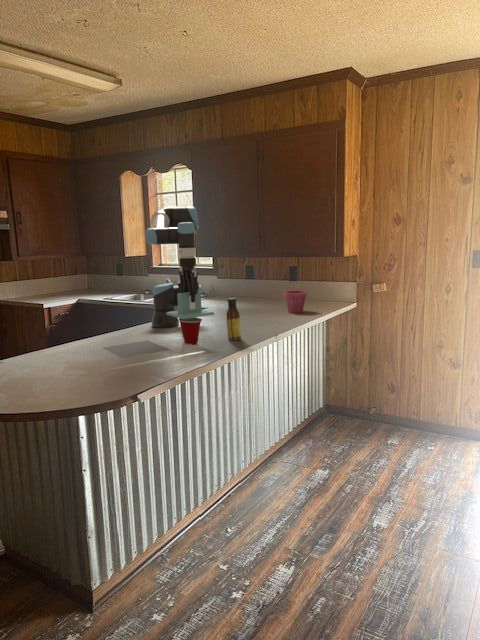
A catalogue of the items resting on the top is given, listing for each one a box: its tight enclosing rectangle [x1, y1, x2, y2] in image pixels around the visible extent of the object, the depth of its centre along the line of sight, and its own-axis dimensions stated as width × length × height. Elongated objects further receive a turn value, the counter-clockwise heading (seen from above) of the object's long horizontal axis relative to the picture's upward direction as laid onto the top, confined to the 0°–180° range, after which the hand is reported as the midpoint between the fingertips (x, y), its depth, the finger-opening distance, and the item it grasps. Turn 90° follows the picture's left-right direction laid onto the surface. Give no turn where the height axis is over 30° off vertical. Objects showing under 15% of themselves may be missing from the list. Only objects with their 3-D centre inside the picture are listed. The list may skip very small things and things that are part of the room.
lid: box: [166, 291, 215, 319], centre depth 224 cm, size 16×16×10 cm
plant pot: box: [283, 290, 307, 314], centre depth 306 cm, size 14×14×13 cm
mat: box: [103, 339, 171, 359], centre depth 218 cm, size 24×22×1 cm
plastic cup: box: [178, 317, 203, 346], centre depth 226 cm, size 11×11×12 cm
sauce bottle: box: [226, 297, 242, 341], centre depth 232 cm, size 7×6×20 cm
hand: (189, 308), depth 224 cm, fingers closed on lid, 4 cm apart
